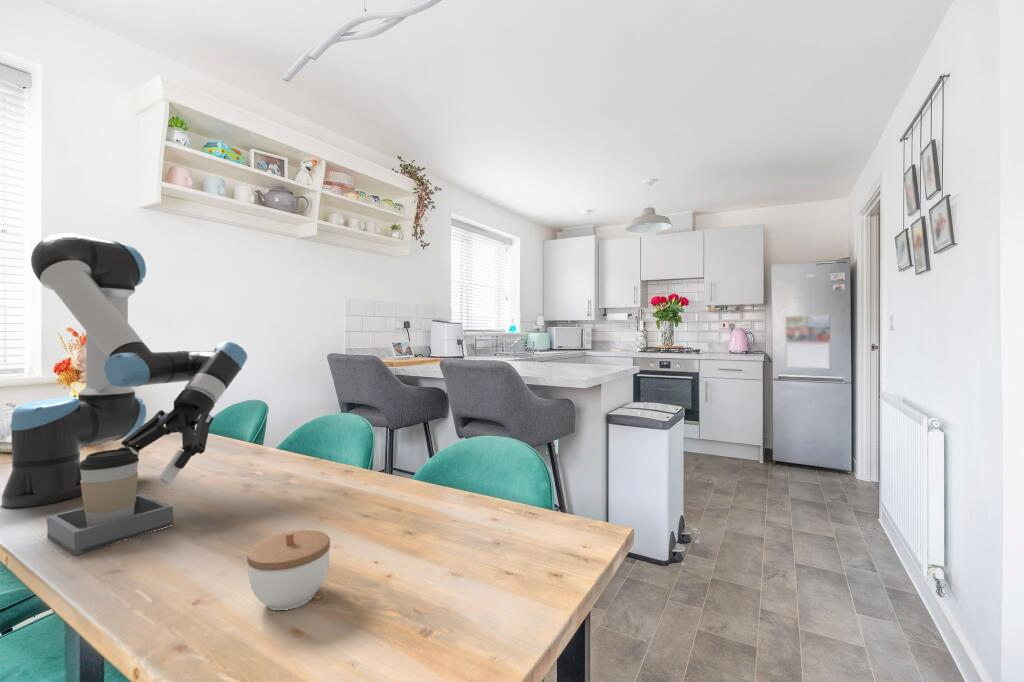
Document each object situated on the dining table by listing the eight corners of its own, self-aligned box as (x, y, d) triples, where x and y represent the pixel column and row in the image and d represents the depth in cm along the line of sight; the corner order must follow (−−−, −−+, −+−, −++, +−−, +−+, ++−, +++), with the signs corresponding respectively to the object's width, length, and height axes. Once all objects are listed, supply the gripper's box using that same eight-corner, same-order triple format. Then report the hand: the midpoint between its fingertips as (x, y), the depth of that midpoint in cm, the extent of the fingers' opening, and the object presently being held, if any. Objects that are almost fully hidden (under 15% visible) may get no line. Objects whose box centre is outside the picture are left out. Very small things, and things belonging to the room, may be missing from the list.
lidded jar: (268, 581, 72) (267, 520, 72) (339, 577, 73) (338, 517, 73) (232, 624, 61) (231, 552, 61) (317, 618, 62) (316, 548, 62)
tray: (47, 537, 90) (47, 516, 90) (141, 512, 102) (141, 493, 102) (74, 555, 82) (74, 532, 82) (173, 526, 94) (172, 506, 94)
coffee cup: (104, 538, 87) (103, 457, 87) (66, 534, 89) (65, 455, 89) (151, 520, 96) (150, 446, 96) (116, 517, 97) (115, 445, 97)
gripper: (252, 407, 111) (198, 491, 96) (168, 405, 116) (105, 484, 102) (234, 387, 105) (174, 473, 91) (146, 386, 111) (76, 467, 97)
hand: (137, 479), depth 97 cm, fingers open, 13 cm apart
